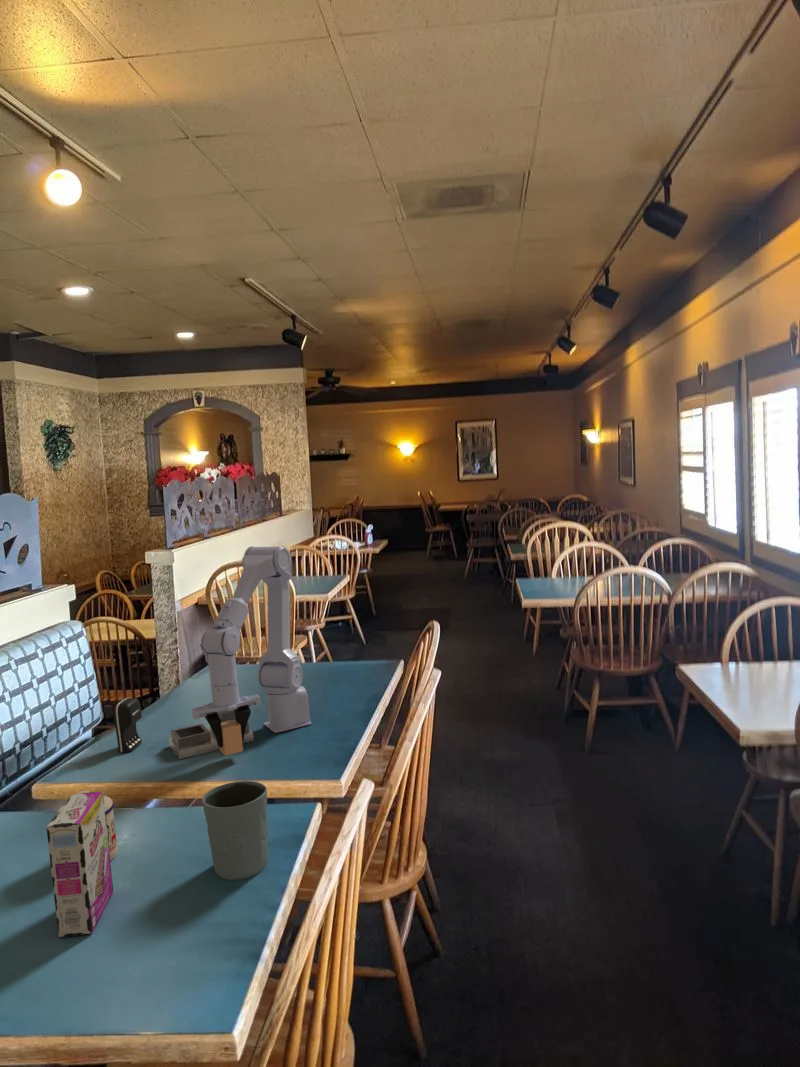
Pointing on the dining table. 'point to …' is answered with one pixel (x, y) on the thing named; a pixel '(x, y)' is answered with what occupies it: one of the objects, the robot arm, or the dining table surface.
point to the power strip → (201, 738)
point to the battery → (127, 724)
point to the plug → (231, 737)
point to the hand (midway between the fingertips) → (230, 743)
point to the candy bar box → (80, 863)
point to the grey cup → (237, 828)
